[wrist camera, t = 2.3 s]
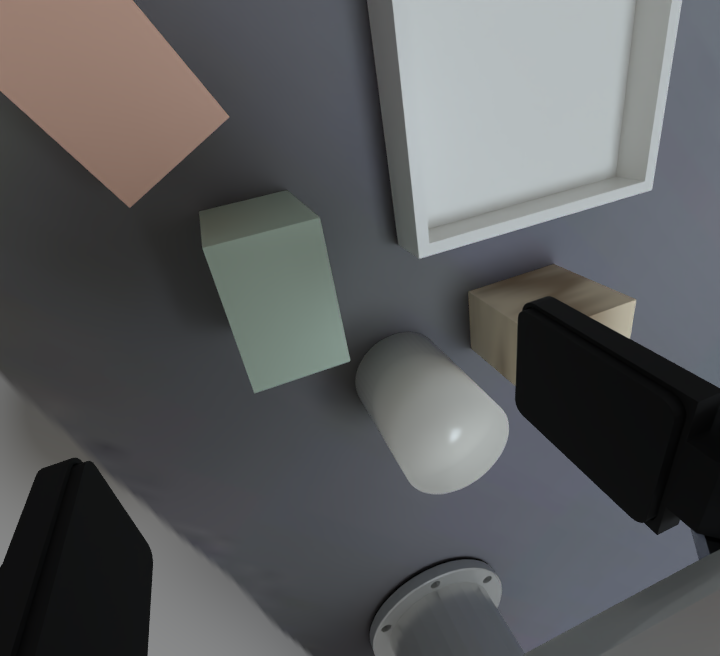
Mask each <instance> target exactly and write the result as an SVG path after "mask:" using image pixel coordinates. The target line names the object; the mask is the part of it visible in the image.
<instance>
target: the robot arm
mask: <svg viewBox="0 0 720 656" xmlns="http://www.w3.org/2000/svg"><path fill="white" fill-rule="evenodd" d="M515 402H516V406H517V408H518V410H519V411H520V413H521V414H522V415H523V416H524V417H525V418H526V419H527V420H528V421H529V422H530V423H531V424H532V425H533V426H534V427H536V428H537V429H538V430H539V431H540V432H541V433H542V434H543V435H544V436H545V437H546V438H547V439H548V440H549V441H550V442H551V443H553V444H554V445H555V446H556V447H557V448H558V449H559V450H560V451H561V452H562V453H563V454H564V455H565V456H566V457H567V458H568V459H569V460H571V461H572V462H573V463H574V464H575V465H576V466H577V467H578V468H579V469H580V470H581V471H582V472H583V473H584V474H585V475H586V476H587V477H589V478H590V479H591V480H592V481H593V482H594V483H595V484H596V485H597V486H598V487H599V488H600V489H601V490H602V491H603V492H604V493H606V494H607V495H608V496H609V497H610V498H611V499H612V500H613V501H614V502H615V503H616V504H617V505H618V506H619V507H620V508H621V509H622V510H624V511H625V512H626V513H627V514H628V515H629V516H630V517H631V518H632V519H634V520H635V521H637V522H640V523H643V522H644V523H645V524H646V525H647V526H648V527H649V528H650V529H651V530H652V531H653V532H654V533H656V534H657V535H658V534H660V533H662V532H664V531H666V530H668V529H670V528H672V527H674V526H676V525H678V524H679V521H680V520H682V521H683V522H684V523H685V524H686V525H687V526H689V527H690V528H691V532H692V536H693V539H694V543H695V547H696V551H697V554H698V558H699V561H697V562H695V563H693V564H691V565H689V566H687V567H685V568H684V569H682V570H680V571H678V572H676V573H674V574H672V575H671V576H669V577H667V578H665V579H663V580H661V581H659V582H657V583H656V584H654V585H652V586H650V587H648V588H646V589H644V590H642V591H641V592H639V593H637V594H635V595H633V596H631V597H629V598H628V599H626V600H624V601H622V602H620V603H618V604H616V605H614V606H613V607H611V608H609V609H607V610H605V611H603V612H601V613H599V614H598V615H596V616H594V617H592V618H590V619H588V620H586V621H585V622H583V623H581V624H579V625H577V626H575V627H573V628H572V629H570V630H568V631H566V632H564V633H562V634H561V635H559V636H557V637H555V638H553V639H551V640H549V641H548V642H546V643H544V644H542V645H540V646H538V647H537V648H535V649H533V650H531V651H529V652H527V653H524V651H523V650H522V648H521V646H520V645H519V643H518V642H517V640H516V638H515V637H514V635H513V634H512V632H511V630H510V629H509V627H508V625H507V624H506V622H505V621H504V619H503V617H502V616H501V614H500V612H499V611H498V609H497V607H498V605H499V602H500V599H501V594H502V585H501V581H500V579H499V578H498V576H497V574H496V573H495V571H494V570H493V569H492V568H491V566H490V565H488V564H486V563H484V562H482V561H478V560H471V559H462V560H455V561H450V562H447V563H443V564H440V565H437V566H435V567H432V568H430V569H428V570H426V571H424V572H422V573H420V574H419V575H417V576H415V577H413V578H412V579H410V580H409V581H408V582H406V583H405V584H403V585H402V586H401V587H400V588H399V589H397V590H396V591H395V592H394V593H393V594H392V595H391V596H390V597H389V598H388V599H387V600H386V601H385V603H384V604H383V605H382V606H381V608H380V609H379V611H378V612H377V614H376V616H375V618H374V620H373V622H372V625H371V629H370V634H369V636H370V643H371V646H372V649H373V651H374V654H375V656H720V388H718V387H717V386H715V385H713V384H711V383H709V382H707V381H706V380H704V379H702V378H700V377H698V376H696V375H695V374H693V373H691V372H689V371H687V370H686V369H684V368H682V367H680V366H678V365H676V364H675V363H673V362H671V361H669V360H667V359H665V358H664V357H662V356H660V355H658V354H656V353H654V352H653V351H651V350H649V349H647V348H645V347H644V346H642V345H640V344H638V343H636V342H634V341H633V340H631V339H629V338H627V337H625V336H623V335H622V334H620V333H618V332H616V331H614V330H612V329H611V328H609V327H607V326H605V325H603V324H602V323H600V322H598V321H596V320H594V319H592V318H591V317H589V316H587V315H585V314H583V313H581V312H580V311H578V310H576V309H574V308H572V307H570V306H569V305H567V304H565V303H563V302H561V301H560V300H558V299H556V298H554V297H551V296H546V297H543V298H540V299H537V300H534V301H531V302H528V303H526V304H525V305H524V306H523V309H522V311H521V312H520V313H519V315H518V327H517V360H516V392H515ZM152 570H153V559H152V553H151V550H150V547H149V545H148V543H147V542H146V540H145V539H144V537H143V536H142V534H141V533H140V531H139V530H138V528H137V527H136V525H135V524H134V522H133V521H132V520H131V518H130V516H129V515H128V513H127V512H126V511H125V509H124V508H123V506H122V505H121V503H120V502H119V500H118V499H117V497H116V496H115V494H114V493H113V491H112V490H111V488H110V487H109V485H108V484H107V482H106V481H105V479H104V478H103V476H102V475H101V473H100V472H99V470H98V469H97V467H96V466H95V465H94V463H93V462H91V461H87V462H84V463H83V462H82V461H81V460H80V459H78V458H71V459H68V460H66V461H63V462H60V463H57V464H54V465H51V466H48V467H45V468H42V469H41V470H39V471H38V473H37V475H36V477H35V480H34V482H33V485H32V488H31V491H30V493H29V496H28V498H27V501H26V504H25V506H24V509H23V511H22V514H21V517H20V519H19V522H18V525H17V527H16V530H15V532H14V535H13V538H12V540H11V543H10V546H9V548H8V551H7V554H6V556H5V559H4V562H3V564H2V565H1V567H0V656H147V654H148V637H149V636H148V635H149V621H150V619H149V618H150V604H151V603H150V602H151V587H152Z"/></svg>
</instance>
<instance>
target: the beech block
mask: <svg viewBox="0 0 720 656" xmlns="http://www.w3.org/2000/svg"><path fill="white" fill-rule="evenodd" d="M546 296H551V297H554V298H556V299H558V300H560V301H561V302H563V303H565V304H567V305H569V306H570V307H572V308H574V309H576V310H578V311H580V312H581V313H583V314H585V315H587V316H589V317H591V318H592V319H594V320H596V321H598V322H600V323H602V324H603V325H605V326H607V327H609V328H611V329H612V330H614V331H616V332H618V333H620V334H622V335H623V336H625V337H627V338H629V339H630V336H631V330H632V323H633V317H634V311H635V305H636V299H634V298H632V297H629V296H627V295H625V294H622V293H620V292H618V291H615V290H613V289H611V288H608V287H606V286H604V285H601V284H599V283H597V282H594V281H592V280H590V279H587V278H585V277H583V276H580V275H578V274H576V273H573V272H571V271H569V270H566V269H564V268H562V267H559V266H557V265H555V264H552V265H549V266H546V267H543V268H540V269H537V270H534V271H531V272H527V273H524V274H521V275H518V276H515V277H512V278H509V279H506V280H502V281H499V282H496V283H493V284H490V285H487V286H484V287H481V288H478V289H474V290H471V291H468V297H469V318H470V339H471V349H472V350H474V351H475V352H476V353H477V354H478V355H480V356H481V357H482V358H483V359H484V360H485V361H487V362H488V363H489V364H490V365H491V366H492V367H494V368H495V369H496V370H497V371H498V372H500V373H501V374H502V375H503V376H504V377H505V378H507V379H508V380H509V381H510V382H511V383H512V384H514V385H515V386H516V360H517V327H518V315H519V313H520V312H521V311H522V309H523V306H524V305H525V304H526V303H528V302H531V301H534V300H537V299H540V298H543V297H546Z"/></svg>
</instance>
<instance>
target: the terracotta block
mask: <svg viewBox="0 0 720 656" xmlns="http://www.w3.org/2000/svg"><path fill="white" fill-rule="evenodd" d="M0 91H1V92H2V93H3V94H4V95H5V96H7V97H8V98H9V99H10V100H11V101H12V102H13V103H14V104H15V105H16V106H18V107H19V108H20V109H21V110H22V111H23V112H24V113H25V114H26V115H28V116H29V117H30V118H31V119H32V120H33V121H34V122H35V123H36V124H37V125H39V126H40V127H41V128H42V129H43V130H44V131H45V132H46V133H47V134H49V135H50V136H51V137H52V138H53V139H54V140H55V141H56V142H57V143H58V144H60V145H61V146H62V147H63V148H64V149H65V150H66V151H67V152H68V153H70V154H71V155H72V156H73V157H74V158H75V159H76V160H77V161H78V162H79V163H81V164H82V165H83V166H84V167H85V168H86V169H87V170H88V171H89V172H91V173H92V174H93V175H94V176H95V177H96V178H97V179H98V180H99V181H100V182H102V183H103V184H104V185H105V186H106V187H107V188H108V189H109V190H110V191H112V192H113V193H114V194H115V195H116V196H117V197H118V198H119V199H120V200H121V201H123V202H124V203H125V204H126V205H127V206H128V207H129V208H130V207H131V206H132V205H134V204H135V203H136V202H137V201H138V200H139V199H140V198H141V197H142V196H143V195H145V194H146V193H147V192H148V191H149V190H150V189H151V188H152V187H153V186H154V185H156V184H157V183H158V182H159V181H160V180H161V179H162V178H163V177H164V176H165V175H167V174H168V173H169V172H170V171H171V170H172V169H173V168H174V167H175V166H176V165H177V164H179V163H180V162H181V161H182V160H183V159H184V158H185V157H186V156H187V155H188V154H190V153H191V152H192V151H193V150H194V149H195V148H196V147H197V146H198V145H199V144H201V143H202V142H203V141H204V140H205V139H206V138H207V137H208V136H209V135H210V134H212V133H213V132H214V131H215V130H216V129H217V128H218V127H219V126H220V125H221V124H222V123H224V122H225V121H226V120H227V119H228V118H229V116H228V114H227V113H226V112H225V111H224V110H223V108H222V107H221V106H220V105H219V104H218V102H217V101H216V100H215V99H214V98H213V96H212V95H211V94H210V93H209V92H208V90H207V89H206V88H205V87H204V85H203V84H202V83H201V82H200V81H199V79H198V78H197V77H196V76H195V75H194V73H193V72H192V71H191V70H190V69H189V67H188V66H187V65H186V64H185V63H184V61H183V60H182V59H181V58H180V57H179V55H178V54H177V53H176V52H175V51H174V49H173V48H172V47H171V46H170V45H169V43H168V42H167V41H166V40H165V38H164V37H163V36H162V35H161V34H160V32H159V31H158V30H157V29H156V28H155V26H154V25H153V24H152V23H151V22H150V20H149V19H148V18H147V17H146V16H145V14H144V13H143V12H142V11H141V10H140V8H139V7H138V6H137V5H136V4H135V2H134V1H133V0H0Z"/></svg>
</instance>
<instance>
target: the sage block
mask: <svg viewBox="0 0 720 656" xmlns="http://www.w3.org/2000/svg"><path fill="white" fill-rule="evenodd" d="M199 219H200V229H201V240H202V249H203V251H204V254H205V257H206V260H207V263H208V265H209V268H210V271H211V274H212V277H213V279H214V282H215V285H216V288H217V290H218V293H219V296H220V299H221V302H222V304H223V307H224V310H225V313H226V316H227V318H228V321H229V324H230V327H231V329H232V332H233V335H234V338H235V341H236V343H237V346H238V349H239V352H240V355H241V357H242V360H243V363H244V366H245V368H246V371H247V374H248V377H249V380H250V382H251V385H252V388H253V391H254V393H257V392H260V391H263V390H266V389H269V388H272V387H275V386H278V385H281V384H284V383H287V382H290V381H293V380H296V379H299V378H302V377H305V376H308V375H311V374H314V373H317V372H320V371H323V370H326V369H329V368H332V367H335V366H338V365H341V364H344V363H347V362H349V361H350V357H349V352H348V347H347V343H346V338H345V333H344V329H343V324H342V319H341V315H340V310H339V305H338V300H337V296H336V291H335V286H334V282H333V277H332V272H331V268H330V263H329V258H328V254H327V249H326V244H325V239H324V235H323V230H322V225H321V221H320V217H318V216H317V215H316V214H315V213H314V212H313V211H311V210H310V209H309V208H308V207H307V206H305V205H304V204H303V203H302V202H301V201H300V200H298V199H297V198H296V197H295V196H294V195H292V194H291V193H290V192H289V191H288V190H285V191H281V192H277V193H273V194H269V195H265V196H260V197H256V198H252V199H248V200H244V201H240V202H236V203H232V204H227V205H223V206H219V207H215V208H211V209H207V210H203V211H199Z"/></svg>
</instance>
